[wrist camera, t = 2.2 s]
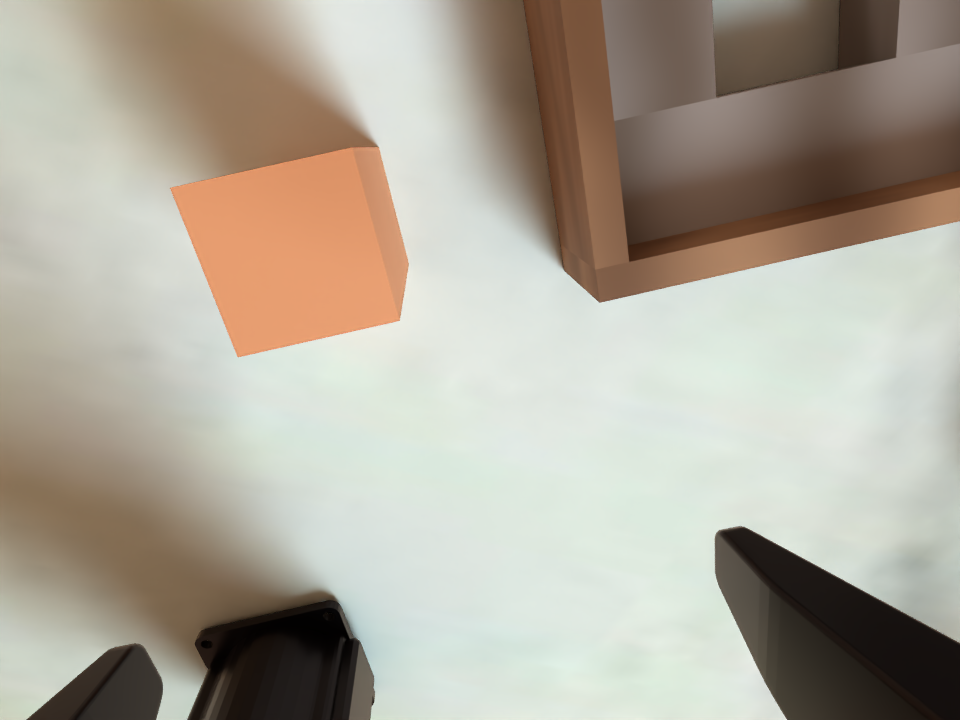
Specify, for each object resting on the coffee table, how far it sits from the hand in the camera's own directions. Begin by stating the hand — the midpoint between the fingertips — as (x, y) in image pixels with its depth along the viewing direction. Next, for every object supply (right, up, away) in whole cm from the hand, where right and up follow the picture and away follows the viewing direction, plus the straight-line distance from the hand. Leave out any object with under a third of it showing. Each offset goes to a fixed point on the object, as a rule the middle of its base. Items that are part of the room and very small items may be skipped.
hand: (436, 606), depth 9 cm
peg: (-4, +9, +11) cm, 14 cm away
